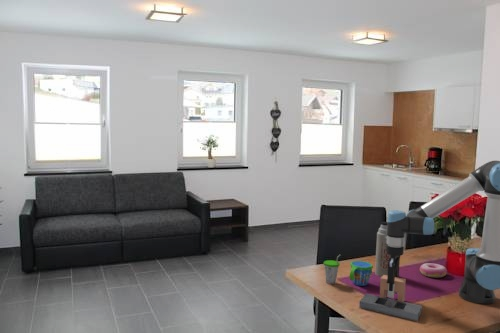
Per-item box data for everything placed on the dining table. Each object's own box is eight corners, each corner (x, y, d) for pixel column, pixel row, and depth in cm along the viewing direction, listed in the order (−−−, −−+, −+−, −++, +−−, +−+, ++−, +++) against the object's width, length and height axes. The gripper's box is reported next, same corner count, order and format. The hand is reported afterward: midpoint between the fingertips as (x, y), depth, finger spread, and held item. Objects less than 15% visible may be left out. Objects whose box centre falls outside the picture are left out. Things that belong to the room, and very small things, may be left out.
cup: (319, 282, 224) (320, 253, 222) (328, 278, 229) (330, 250, 228) (332, 286, 218) (333, 256, 217) (341, 282, 224) (343, 253, 222)
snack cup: (363, 277, 232) (364, 258, 231) (379, 284, 223) (380, 264, 222) (341, 283, 223) (342, 263, 222) (357, 290, 215) (358, 269, 214)
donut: (445, 272, 244) (445, 263, 243) (448, 280, 231) (449, 271, 230) (418, 269, 247) (419, 260, 247) (420, 277, 235) (421, 268, 234)
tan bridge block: (404, 300, 204) (405, 279, 203) (402, 304, 199) (403, 282, 198) (382, 295, 209) (383, 274, 208) (379, 299, 204) (380, 278, 203)
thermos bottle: (391, 277, 233) (394, 224, 230) (375, 276, 235) (378, 223, 231) (390, 272, 240) (393, 221, 237) (374, 271, 242) (377, 220, 239)
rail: (421, 312, 191) (422, 305, 191) (417, 321, 183) (417, 314, 182) (365, 299, 203) (366, 293, 203) (359, 307, 195) (359, 301, 194)
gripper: (391, 239, 211) (388, 287, 213) (381, 248, 195) (378, 300, 198) (407, 241, 207) (404, 290, 210) (399, 251, 192) (396, 303, 194)
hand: (392, 294), depth 204 cm, fingers closed on tan bridge block, 5 cm apart
